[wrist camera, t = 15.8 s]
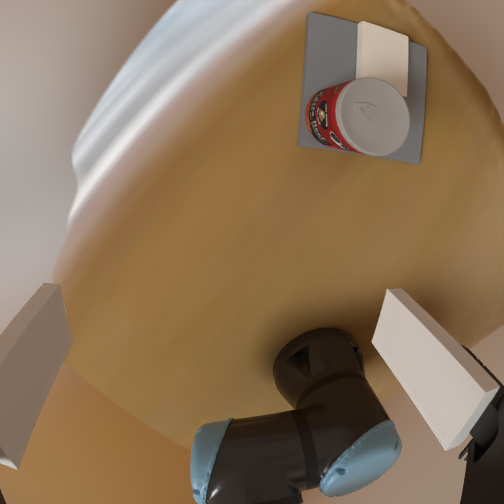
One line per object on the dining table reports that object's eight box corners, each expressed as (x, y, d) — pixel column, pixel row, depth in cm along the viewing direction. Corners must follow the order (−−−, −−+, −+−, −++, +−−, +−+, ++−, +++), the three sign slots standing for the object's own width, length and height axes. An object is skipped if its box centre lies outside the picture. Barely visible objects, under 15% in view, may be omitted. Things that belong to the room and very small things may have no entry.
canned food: (301, 86, 34) (336, 71, 24) (361, 91, 35) (410, 83, 25) (302, 147, 37) (338, 155, 27) (362, 149, 38) (410, 158, 28)
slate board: (414, 163, 40) (419, 164, 39) (297, 145, 38) (299, 146, 37) (422, 49, 34) (426, 47, 33) (306, 14, 31) (309, 11, 30)
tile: (406, 96, 34) (408, 36, 31) (360, 84, 33) (362, 21, 30) (400, 97, 36) (401, 38, 32) (354, 85, 34) (357, 24, 31)
